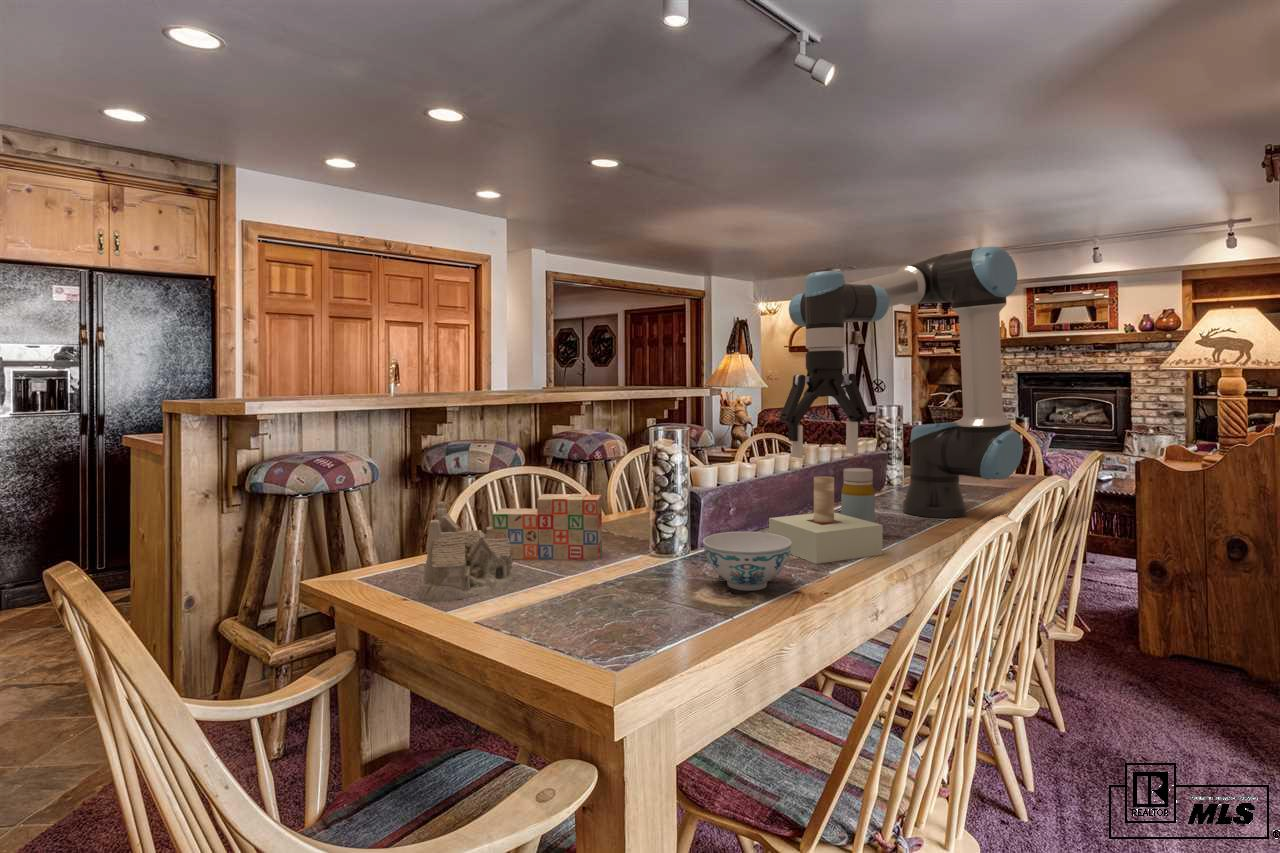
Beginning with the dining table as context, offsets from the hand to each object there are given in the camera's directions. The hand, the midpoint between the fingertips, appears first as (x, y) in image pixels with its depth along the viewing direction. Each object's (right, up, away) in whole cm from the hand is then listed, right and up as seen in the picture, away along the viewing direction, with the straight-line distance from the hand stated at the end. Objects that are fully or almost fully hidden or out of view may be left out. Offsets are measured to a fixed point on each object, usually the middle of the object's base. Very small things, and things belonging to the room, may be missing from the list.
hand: (825, 455), depth 146 cm
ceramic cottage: (-68, -22, -21) cm, 74 cm away
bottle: (+11, -19, +13) cm, 25 cm away
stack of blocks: (-56, -21, 0) cm, 60 cm away
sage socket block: (0, -20, +1) cm, 20 cm away
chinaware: (-19, -22, -22) cm, 36 cm away
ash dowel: (0, -19, +1) cm, 19 cm away
